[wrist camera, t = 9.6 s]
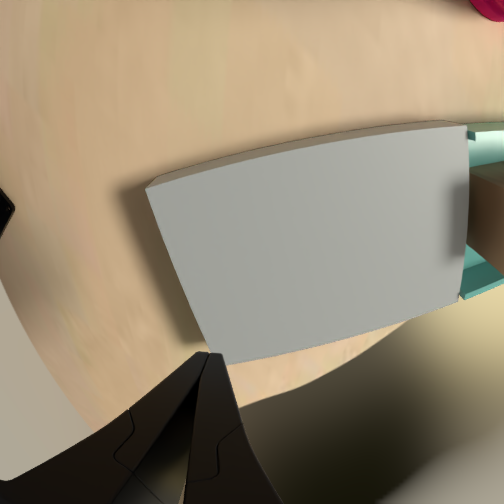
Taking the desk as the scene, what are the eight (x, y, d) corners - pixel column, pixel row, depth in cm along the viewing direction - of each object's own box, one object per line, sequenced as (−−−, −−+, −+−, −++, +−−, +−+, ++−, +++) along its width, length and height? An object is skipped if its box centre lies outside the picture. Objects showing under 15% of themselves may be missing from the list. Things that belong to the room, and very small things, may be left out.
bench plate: (218, 340, 25) (217, 366, 22) (157, 176, 19) (145, 188, 16) (440, 282, 24) (457, 301, 21) (441, 120, 18) (467, 125, 15)
